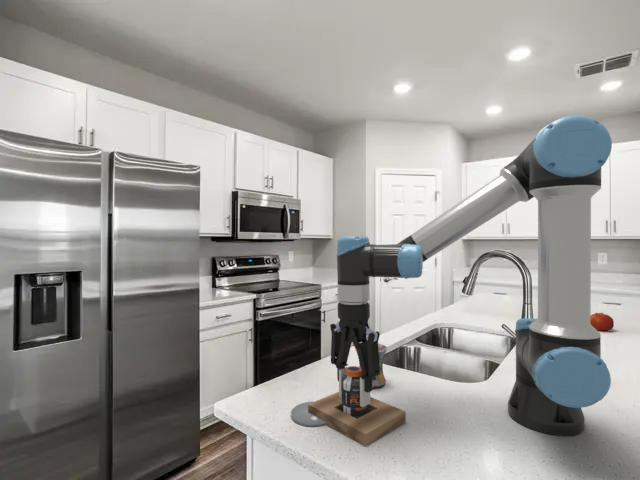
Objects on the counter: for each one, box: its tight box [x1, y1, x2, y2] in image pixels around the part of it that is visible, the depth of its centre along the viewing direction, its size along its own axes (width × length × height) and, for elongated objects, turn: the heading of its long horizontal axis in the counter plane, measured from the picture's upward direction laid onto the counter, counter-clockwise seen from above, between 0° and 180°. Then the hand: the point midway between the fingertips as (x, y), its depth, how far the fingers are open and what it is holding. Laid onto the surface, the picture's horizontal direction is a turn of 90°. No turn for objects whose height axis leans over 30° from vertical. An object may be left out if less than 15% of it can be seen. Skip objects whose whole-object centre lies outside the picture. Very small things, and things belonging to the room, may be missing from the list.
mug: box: [354, 342, 388, 388], centre depth 106 cm, size 12×9×11 cm
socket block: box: [308, 391, 407, 447], centre depth 84 cm, size 18×14×2 cm
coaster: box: [290, 401, 328, 428], centre depth 86 cm, size 11×11×1 cm
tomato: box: [590, 312, 615, 332], centre depth 163 cm, size 9×9×8 cm
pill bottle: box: [342, 365, 367, 418], centre depth 84 cm, size 6×6×11 cm
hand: (354, 399), depth 84 cm, fingers closed on pill bottle, 6 cm apart
